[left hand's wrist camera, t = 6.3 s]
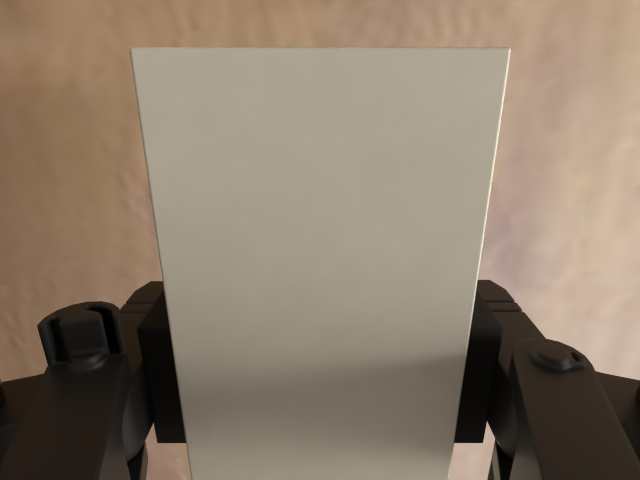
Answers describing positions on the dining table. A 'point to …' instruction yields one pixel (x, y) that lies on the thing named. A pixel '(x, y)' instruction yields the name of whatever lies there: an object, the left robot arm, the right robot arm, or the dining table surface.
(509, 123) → the dining table surface
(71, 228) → the dining table surface
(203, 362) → the beam
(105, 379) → the left robot arm
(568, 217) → the dining table surface
